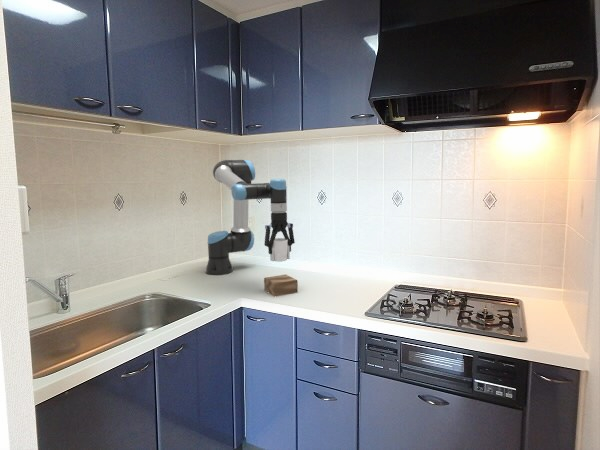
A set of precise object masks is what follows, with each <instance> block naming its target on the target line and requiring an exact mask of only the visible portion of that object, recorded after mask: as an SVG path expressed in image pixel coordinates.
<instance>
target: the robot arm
mask: <svg viewBox="0 0 600 450" xmlns="http://www.w3.org/2000/svg"><path fill="white" fill-rule="evenodd" d="M212 175H213V177H214V179H215V180H216V181H217V182H219V183H222V184H224V185H225V187H227V188H228V189H229V190H230V191H231V193H230V194H231V196H232V198H233V218H232V219H233V221H232V223H233V226H232V227H231V228H230V232H228V231H227V230H220V231H215V232H211V233H210V234H208V236H207V252H208V261H207V264H206V268H205V271H206V274H208V275H212V276H220V275H221V276H222V275H226V274H227V275H228V274H230V273H233V270H234V269H233V265H232V262H231V260H230V254H231V253H240V252H241V253H242V252H248V251H251V250H252V249H253V247H254V244H255V235H254V233H253V231H251V228H250V227H249V201H250V200H267V199H268V200H270V212H271V213H270V219H271V222H270V224H266V225H264V227H265V228H264V229H265V237H264V245H263V246H264V247H267V249H268V254H269V257H270V258H269V259H270V261H271V262H275V261H274V247H272V246H273V243H274V240H275V239H276V236H277V234H278V233H280V232H281V233H282V236H283V238H285V240H287V239H288V250H287V260H290V259H291V256H290V255H291V254H290V253H291V252H292V246H293V245H294V244H295V243H296V242H295V241H296V240H295V236H294V230H293V227H294V224H293V223H291V222H288V213H287V212H288V211H287V210H288V209H287V208H288V206H287V205H288V204H287V200H288V199H287V181H286V179H284V178H272V179H270V180H269V181H270V182H262V183H261V182H260V183H259V182H258V183H252V181H254V180H255V179H256V169H255V166H254V163H253V161H251V160H249V159H223V160H220V161H219V162H217V163H216V164H215V165H214V167H213V169H212ZM271 228H272V230H271ZM287 230H288V231H287Z"/></svg>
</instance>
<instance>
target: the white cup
mask: <svg viewBox="0 0 600 450" xmlns="http://www.w3.org/2000/svg"><path fill="white" fill-rule="evenodd" d="M272 247H274V261H273V262H278V263H280V262H286V261H287V260H288V259H287V250H288V239H287V240H285V238H284V237H283V238H282V237H280V238H279V237H277V238H276V237H275V240H274V243H273V246H272Z"/></svg>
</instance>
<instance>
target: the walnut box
mask: <svg viewBox="0 0 600 450" xmlns="http://www.w3.org/2000/svg"><path fill="white" fill-rule="evenodd" d="M263 283H264V284H263V285H264V288H263V289H264V291H265V292H267V293H268V292H269V293H268V294H270V295H272V296H273V297H275V296H276V297H279V296H285V295H290V294H291V295H292V294H296V293H298V292H299V291H298V289H299V288H298V287H299V286H298V284H299V283H298V279H296V278H294V277H292V276H289V275H288V274H280V275H273V276H267V277H264V278H263Z"/></svg>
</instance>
